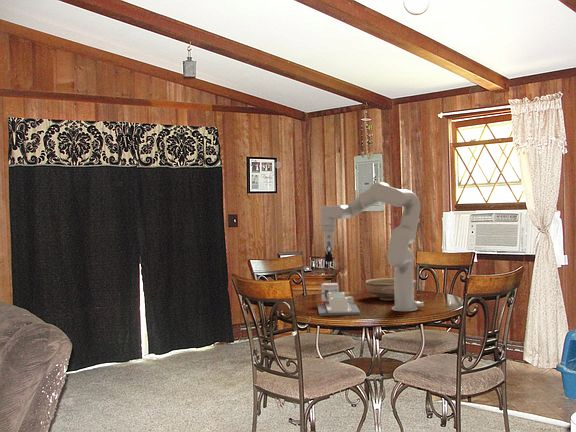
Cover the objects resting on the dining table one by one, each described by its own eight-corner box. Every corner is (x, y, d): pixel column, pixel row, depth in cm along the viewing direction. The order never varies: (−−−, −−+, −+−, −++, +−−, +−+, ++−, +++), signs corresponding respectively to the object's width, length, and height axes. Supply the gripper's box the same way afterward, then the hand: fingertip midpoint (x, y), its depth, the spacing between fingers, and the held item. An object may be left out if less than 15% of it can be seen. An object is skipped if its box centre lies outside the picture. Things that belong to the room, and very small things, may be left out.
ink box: (323, 306, 337) (322, 284, 337) (321, 305, 342) (320, 283, 342) (339, 305, 338) (338, 283, 338) (337, 304, 343) (336, 282, 343)
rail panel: (355, 306, 334) (355, 291, 334) (360, 314, 309) (360, 298, 309) (317, 307, 335) (317, 292, 335) (319, 315, 310) (318, 299, 310)
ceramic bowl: (366, 294, 380) (366, 277, 380) (415, 293, 375) (415, 276, 375) (363, 303, 344) (363, 285, 343) (417, 303, 339) (417, 284, 339)
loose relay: (350, 303, 345) (350, 296, 345) (353, 304, 342) (353, 297, 342) (343, 304, 344) (343, 296, 344) (346, 305, 340) (346, 297, 340)
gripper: (336, 229, 331) (336, 262, 331) (334, 228, 348) (334, 259, 348) (321, 229, 331) (322, 262, 331) (320, 228, 348) (321, 259, 348)
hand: (328, 260), depth 340 cm, fingers open, 9 cm apart
